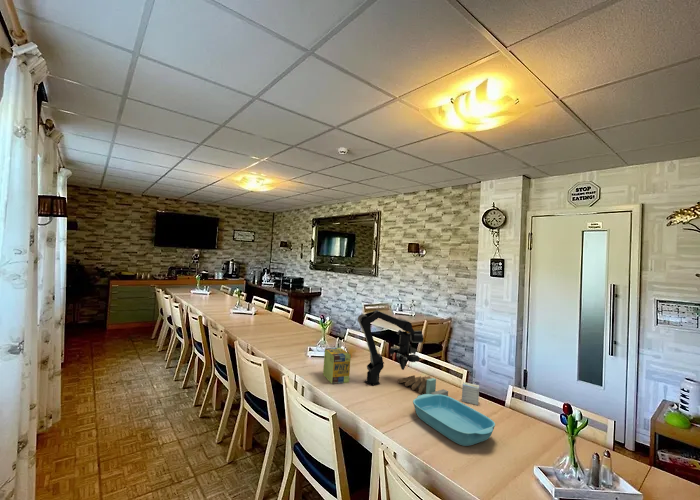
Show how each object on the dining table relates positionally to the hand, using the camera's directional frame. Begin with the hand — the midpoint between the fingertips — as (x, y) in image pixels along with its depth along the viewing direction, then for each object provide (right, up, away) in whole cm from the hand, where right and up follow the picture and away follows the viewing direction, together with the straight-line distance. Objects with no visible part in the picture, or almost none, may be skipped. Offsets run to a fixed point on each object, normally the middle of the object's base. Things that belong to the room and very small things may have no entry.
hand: (402, 369), depth 182 cm
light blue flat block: (+12, -8, -17) cm, 22 cm away
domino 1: (-1, -7, 0) cm, 7 cm away
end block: (+15, -8, -21) cm, 27 cm away
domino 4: (+8, -8, -12) cm, 17 cm away
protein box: (-39, -5, 0) cm, 39 cm away
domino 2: (+2, -7, -4) cm, 8 cm away
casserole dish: (+13, -8, -46) cm, 48 cm away
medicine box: (+31, -9, -20) cm, 38 cm away
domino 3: (+5, -7, -8) cm, 12 cm away
